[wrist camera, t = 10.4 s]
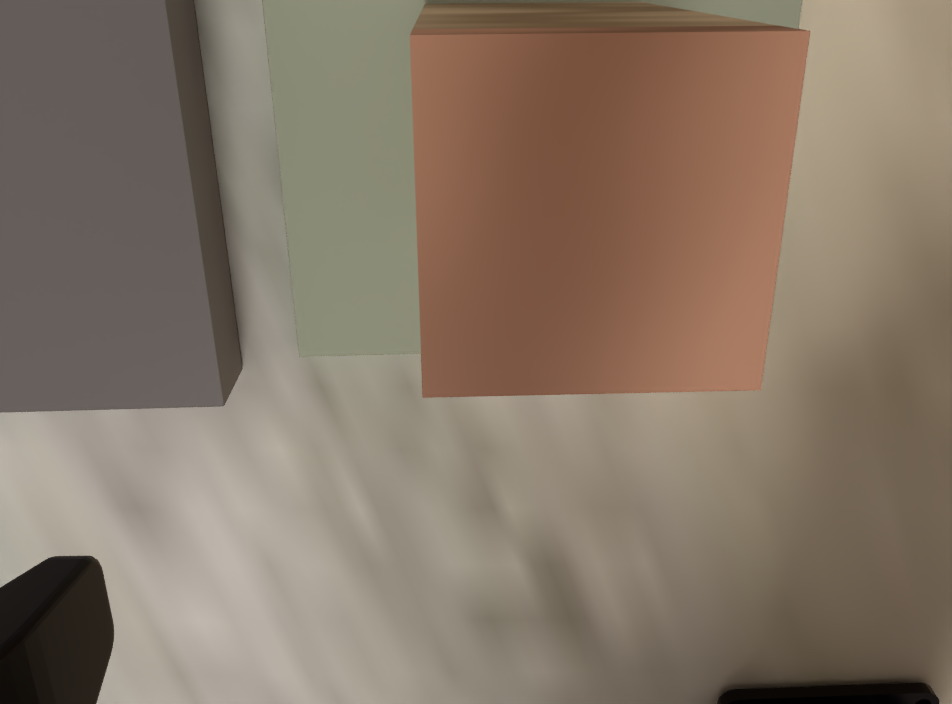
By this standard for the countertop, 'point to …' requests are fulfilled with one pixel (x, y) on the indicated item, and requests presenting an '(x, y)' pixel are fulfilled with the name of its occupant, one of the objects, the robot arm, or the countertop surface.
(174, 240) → the grey flat square slab
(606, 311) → the wooden plug
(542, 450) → the countertop surface
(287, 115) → the rubber mat
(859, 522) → the countertop surface
